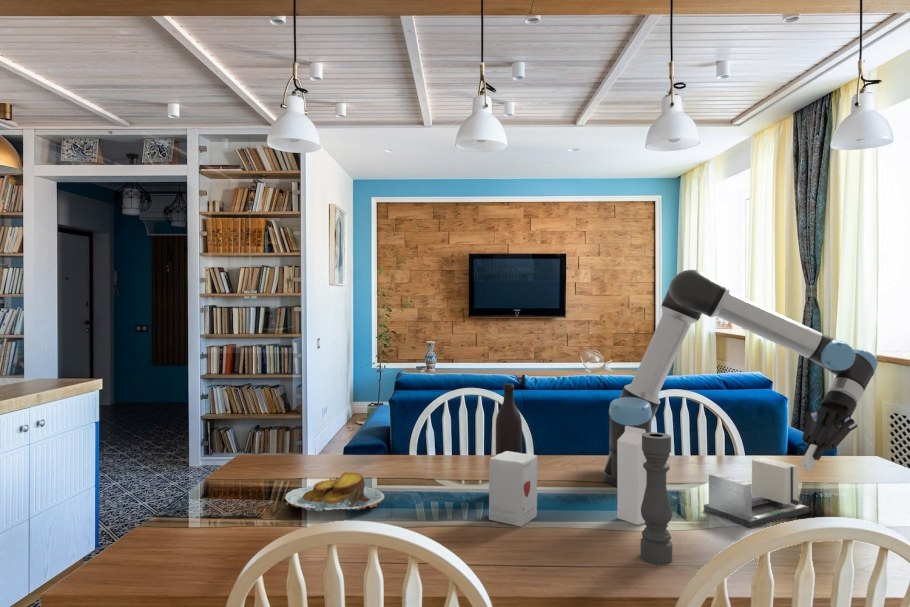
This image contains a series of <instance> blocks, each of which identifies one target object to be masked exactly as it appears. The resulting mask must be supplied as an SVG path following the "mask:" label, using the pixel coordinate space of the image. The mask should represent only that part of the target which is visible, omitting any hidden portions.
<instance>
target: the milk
mask: <svg viewBox="0 0 910 607" xmlns="http://www.w3.org/2000/svg"><path fill="white" fill-rule="evenodd" d="M643 433H646V430H645V429H640V428H635V427H630V426H625V432H624V433H623V434H622V436H621V437H620V438H619V439H618V440H617V486H616V488H617V490H616V492H617V495H616V496H617V499H616V500H617V501H616V502H617V506H616V508H617V511H616V513H617V516H616V518H617V519H619V520H622V521H624V522H628V523H630V524H633V525H636V526H640V525H642V524H643V525H644V524H645V521H644V520H643V518H642V515H641V505H642V501H643V497H644V493H645V489H646V469H644V467H643V463H645V462H646V461H647V460H646V459H645V456H644V454H643V451H642V434H643Z"/></svg>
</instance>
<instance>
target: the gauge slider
mask: <svg viewBox="0 0 910 607" xmlns="http://www.w3.org/2000/svg"><path fill="white" fill-rule="evenodd" d="M751 469H752V470H751V471H752V472H751V484H752V494H754V495H757V496H760V497H764V498H767V499H770V500H773V501H776V502H780V503H783V504H788V503H792V504H795V505H799V504H800V501H799V493H798V492H799V478H798V477H799V476H798V475H799V466H798V465H796V464H792V463H788V462H785V461H779V460H777V459H772V458H768V457H760V458H754V459H752V460H751Z"/></svg>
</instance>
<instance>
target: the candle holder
mask: <svg viewBox="0 0 910 607" xmlns="http://www.w3.org/2000/svg"><path fill="white" fill-rule="evenodd" d="M642 451H643V454H644V456H645V459H646V460H647V461H646V462H645V463H643V467H644V469H646V489H645V493H644V497H643V501H642V505H641V515H642V518H643V520H644V521H645V523H644V524H645V528H644V529H643V530H642V531H641V537H642V538H640V558H641V560H643V561H644V562H646V563H648V564H649V563H650V564H653V565H661V566H662V565H669V564H672V562H673V542H672V541H671V539H672V535H671V533H670V532H669V530H668V529H667V528H668V527H669V525H668V524H669V523H670V522H671V520H672V517H673V509H672V507H671V502H670V497H669V493H668V490H667V473H668V471H669V470H670V468H671V467H670V464H668V463H667V461H668V459H669V458H670V453H672V436H671V435H670V434H667V433H663V432H652V431H651V432H650V433H643V434H642Z"/></svg>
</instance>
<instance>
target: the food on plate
mask: <svg viewBox="0 0 910 607" xmlns="http://www.w3.org/2000/svg"><path fill="white" fill-rule="evenodd" d="M365 485H366V484H365V479H364V477H363V475H362V474H361V473H357V472H353V471H351V472H348V471H345V472H343V473H342V474H341V476H339V479H326V480H321V481H319V482H317V483H315V484H314V485H309V486H305V487H303V488H302V487H299V488H295V489H292V490H290V491H288V492H287V493H286V494H285V496H284V500H286V505H287V506H288V505H289V504H290V506H291V507H292V506H293V507H296V508H302V509H305V510H306V511H309V512H311V510H313V511H316V512H322V511H330V510H340V509H341V510H347V511H349V510H350V511H351V510H357V511H359V510H361V509H362V510H363V509H366V508H367V507H368V508H370V509H371V508H374V507H377V506H378V504H380V503H381V502H382V501H384V499H385V498H386V497H385V494H384V493H383V491H380V490H378V489H375V488H372V487H371V486H370V487H368V486H365Z"/></svg>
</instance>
